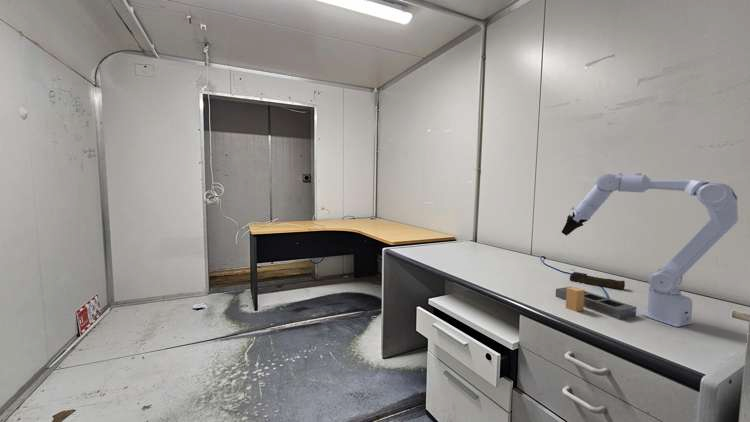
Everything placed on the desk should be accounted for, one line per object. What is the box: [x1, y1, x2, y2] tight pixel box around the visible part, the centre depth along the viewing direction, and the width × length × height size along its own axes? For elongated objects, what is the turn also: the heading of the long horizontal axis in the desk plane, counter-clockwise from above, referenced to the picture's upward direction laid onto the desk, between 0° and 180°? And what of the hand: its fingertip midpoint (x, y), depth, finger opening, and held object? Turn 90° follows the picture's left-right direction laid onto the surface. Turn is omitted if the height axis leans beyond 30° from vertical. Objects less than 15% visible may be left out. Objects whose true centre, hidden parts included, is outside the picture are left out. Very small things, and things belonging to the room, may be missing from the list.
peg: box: [565, 286, 585, 312], centre depth 102 cm, size 4×4×7 cm
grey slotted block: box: [555, 286, 637, 320], centre depth 105 cm, size 22×8×3 cm, turn 21°
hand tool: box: [569, 271, 626, 291], centre depth 128 cm, size 19×4×5 cm, turn 47°
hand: (566, 231), depth 116 cm, fingers open, 7 cm apart
